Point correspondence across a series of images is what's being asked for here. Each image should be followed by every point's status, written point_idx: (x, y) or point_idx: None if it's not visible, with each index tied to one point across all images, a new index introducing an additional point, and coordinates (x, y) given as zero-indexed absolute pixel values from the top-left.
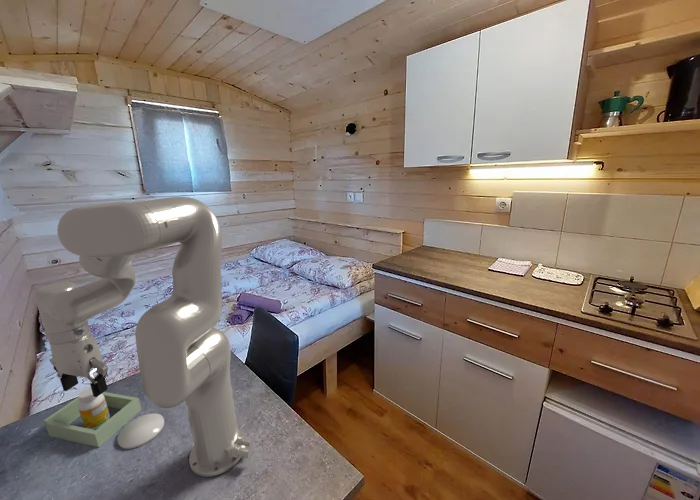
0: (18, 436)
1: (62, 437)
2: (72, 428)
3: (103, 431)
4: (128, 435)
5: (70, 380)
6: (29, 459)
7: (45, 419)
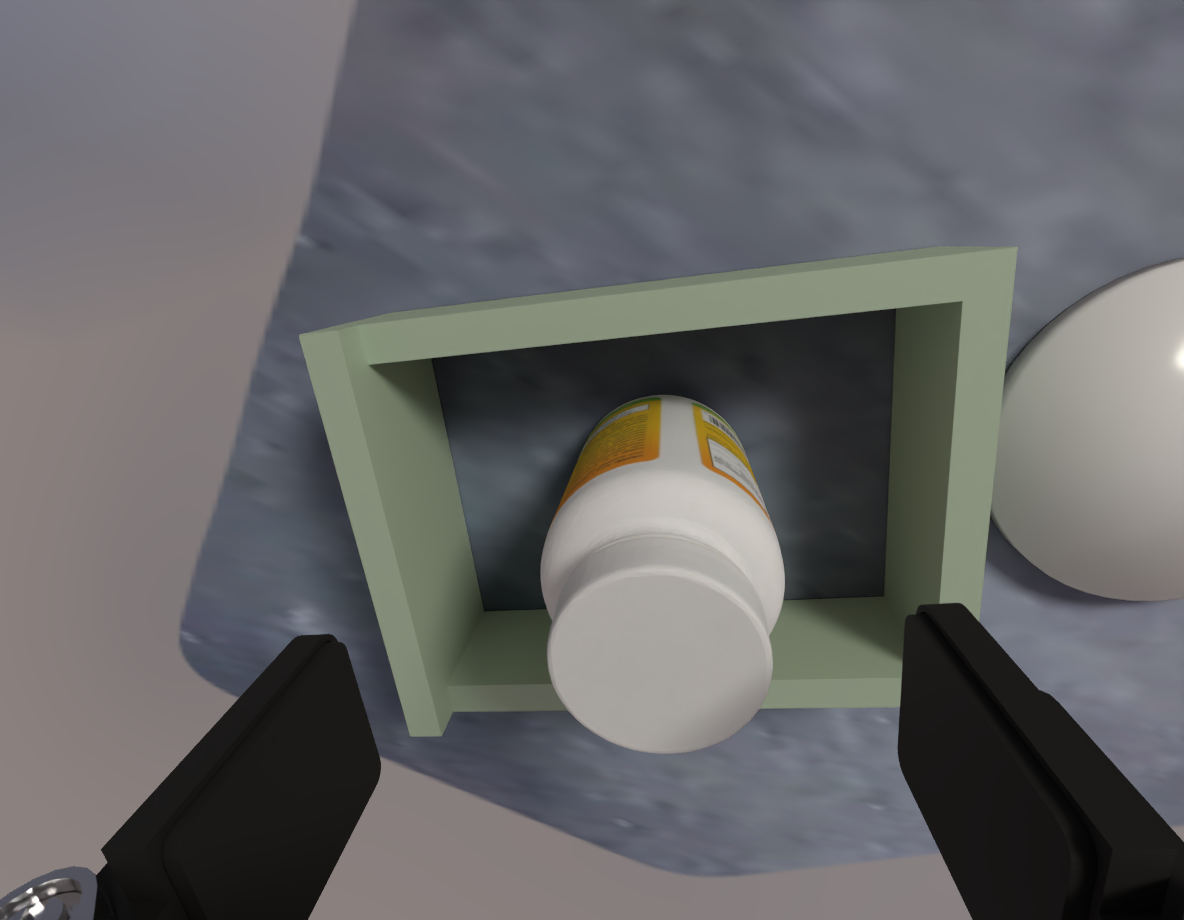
0: None
1: None
2: None
3: None
4: (1112, 523)
5: (296, 810)
6: (555, 755)
7: (412, 729)
